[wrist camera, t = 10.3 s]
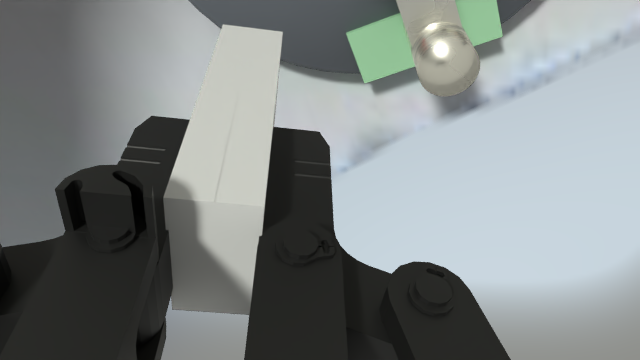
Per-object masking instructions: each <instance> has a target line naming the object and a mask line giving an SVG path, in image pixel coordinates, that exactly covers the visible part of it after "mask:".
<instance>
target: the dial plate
mask: <svg viewBox="0 0 640 360" xmlns="http://www.w3.org/2000/svg"><path fill="white" fill-rule="evenodd" d="M189 1H190V2H191V3H192V4H193V5H194V6H195V7H196V8H197V9H198V10H199V11H200V12H201V13H202V14H204V15H205V16H206V17H207V18H209V19H210V20H211V21H212V22H214V23H215V24H216V25H217V26H218V27H220V28H221V29H222V26H223V24H224V25H232V26H240V27H248V28H256V29H264V30H272V31H280V32H283V35H282V46H281V57H280V60H282V61H285V62H288V63H291V64H294V65H297V66H301V67H306V68H311V69H316V70H321V71H327V72H339V73H361V75H362V78H363V81H364V83H368V82H371V81H374V80H377V79H379V78H382V77H385V76H388V75H391V74H394V73H397V72H400V71H403V70H406V69H409V68H412V67H415V64H414V61H413V57H412V54H411V51H410V48H409V44H408V41H407V38H406V35H405V32H404V28H403V20H402V17H401V14H400V11H399V8H398V5H397V2H396V0H189ZM529 1H531V0H455V2H456V6H457V10H458V13H459V17H460V21H461V24H462V27H463V28H464V30H465V32H466V34H467V35H468V37H469V39H470V41H471V43H472V44H473V46H476V45H479V44H482V43H485V42H488V41H491V40H494V39H497V38H500V37H503V34H502V29H501V24H502V23H504V22H505V21H506V20H508V19H509V18H511V17H512V16H513V15H514V14H515V13H517V12H518V11H519V10H520V9H521V8H522V7H524V6H525V5H526V4H527V3H528V2H529Z"/></svg>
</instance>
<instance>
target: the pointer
mask: <svg viewBox="0 0 640 360" xmlns="http://www.w3.org/2000/svg"><path fill="white" fill-rule="evenodd" d="M396 2H397V5H398V8H399V11H400V14H401V17H402V20H403V28H404V32H405V35H406V38H407V41H408V44H409V48H410V51H411V54H412V57H413V61H414V64H415V67H416V70H417V74H418V77H419V80H420V82H421V84H422V86H423V87H424V88H425V89H426V90H427V91H428V92H430V93H432V94H434V95H437V96H452V95H456V94H458V93H461V92H463V91H464V90H466V89H467V88H468V87H469V86H471V84H472V83H473V82H474V81H475V79H476V77H477V75H478V73H479V69H480V59H479V56H478V53H477V51H476V50H475V48H474V46H473V44H472V43H471V41H470V39H469V37H468V35H467V34H466V32H465V30H464V28H463V27H462V24H461V21H460V17H459V13H458V10H457V6H456V2H455V0H396Z"/></svg>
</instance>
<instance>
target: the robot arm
mask: <svg viewBox="0 0 640 360" xmlns="http://www.w3.org/2000/svg"><path fill="white" fill-rule="evenodd" d="M282 35H283V32H280V31H272V30H264V29H256V28H248V27H240V26H232V25H224V24H223V26H222V29H221V32H220V34H219V37H218V40H217V43H216V46H215V49H214V52H213V55H212V58H211V61H210V63H209V66H208V69H207V72H206V75H205V78H204V81H203V84H202V87H201V89H200V92H199V95H198V98H197V101H196V104H195V107H194V110H193V113H192V116H191V118H190V120H186V119H177V118H167V117H158V116H151V117H150V118H149V119H147V120H146V121H145V122H143V123H142V124H141V125H139V126H138V127H136V128H135V130H134V132H133V134H132V136H131V138H130V140H129V142H128V144H127V148H125V150H124V152H123V154H122V156H121V161H119V162H118V164H117V165H99V166H95V167H91V168H87V169H82V170H80V171H78V172H76V173H74V174H72V175H70V176H68V177H67V178H65V179H64V180H63V181H62V182H61V183H60V184H59V185H58V186H57V187H56V189H55V192H56V196H57V200H58V203H59V207H60V211H61V215H62V219H63V223H64V227H65V230H66V231H65V233H64V235H63V236H60V237H57V238H55V239H50V240H46V241H42V242H36V243H29V244H23V245H16V246H9V247H3V248H2V246H1V244H0V360H160V359H161V356H162V351H163V348H164V344H165V340H166V318H165V316H166V312H167V308H168V305H169V301H170V297H171V299H172V309H173V310H186V311H203V312H216V313H230V314H246V315H249V323H248V324H249V325H248V332H247V341H246V350H245V358H244V360H511V359H510V358H509V356H508V354H507V353H506V351H505V349H504V347H503V346H502V344H501V343H500V341H499V339H498V337H497V336H496V334H495V332H494V330H493V329H492V327H491V325H490V324H489V322H488V320H487V319H486V317H485V315H484V313H483V312H482V310H481V308H480V307H479V305H478V303H477V302H476V300H475V298H474V296H473V295H472V293H471V291H470V290H469V288H468V287H467V286H466V285H465V284H464V282H463V281H462V280H461V279H460V278H459V277H458V276H456V275H455V274H454V273H452V272H451V271H449V270H448V269H446V268H444V267H441V266H438V265H435V264H432V263H429V262H411V263H408V264H405V265H401V266H400V267H398V268H397V269H396V270H395V271H394V272H393V273H392V274H391V273H388V272H385V271H382V270H379V269H376V268H373V267H371V266H368V265H366V264H364V263H362V262H359V261H357V260H356V259H355V258H353V257H352V256H350V255H349V254H348V253H347V252H346V251H345V250H344V249H343V248H342V247H341V246H340V244H339V242H338V240H337V239H336V236H335V232H334V222H333V204H332V184H331V166H330V147H329V145H328V144H327V142H326V141H325V139H324V138H323V136H322V135H321V134H320V132H317V131H307V130H297V129H288V128H278V127H274V122H275V111H276V100H277V89H278V78H279V67H280V57H281V46H282Z"/></svg>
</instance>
